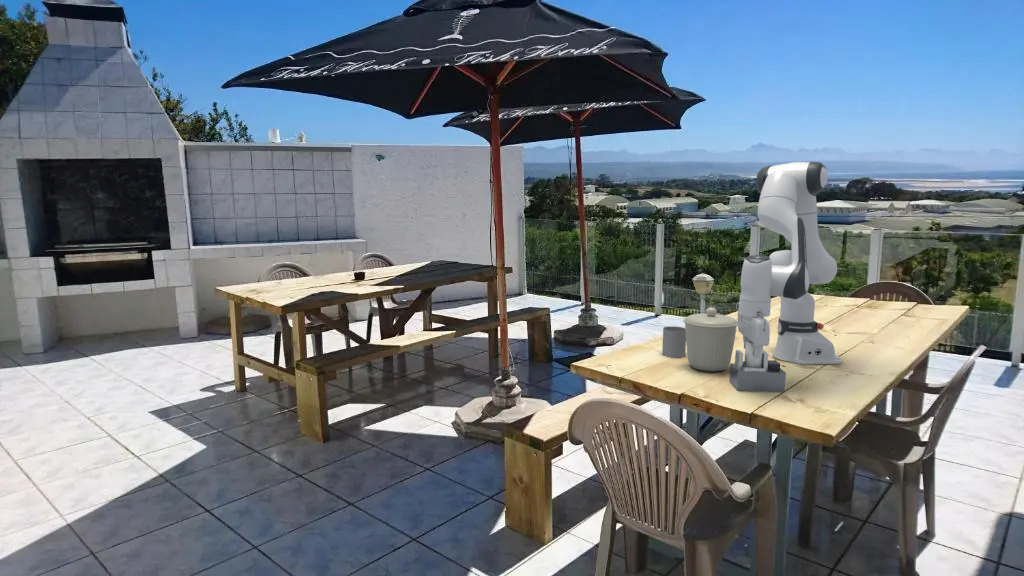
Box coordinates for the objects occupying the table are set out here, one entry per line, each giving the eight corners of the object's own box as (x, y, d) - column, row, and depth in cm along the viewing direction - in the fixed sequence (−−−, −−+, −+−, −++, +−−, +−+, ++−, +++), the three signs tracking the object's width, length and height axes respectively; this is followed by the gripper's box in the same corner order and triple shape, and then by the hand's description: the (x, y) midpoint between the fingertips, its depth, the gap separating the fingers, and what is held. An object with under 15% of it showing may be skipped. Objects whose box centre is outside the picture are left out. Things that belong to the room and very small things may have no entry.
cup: (686, 358, 219) (687, 331, 218) (662, 357, 221) (663, 330, 219) (684, 352, 227) (685, 326, 226) (661, 351, 229) (662, 325, 228)
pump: (758, 365, 189) (760, 337, 187) (763, 370, 184) (765, 341, 182) (742, 365, 189) (743, 337, 188) (746, 369, 184) (748, 341, 183)
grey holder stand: (774, 382, 191) (777, 349, 189) (784, 392, 182) (787, 356, 180) (729, 381, 192) (731, 348, 190) (737, 390, 183) (739, 355, 182)
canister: (746, 368, 207) (749, 307, 204) (718, 378, 195) (722, 314, 192) (699, 358, 220) (701, 301, 217) (670, 367, 208) (673, 307, 205)
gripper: (776, 315, 173) (773, 362, 175) (755, 303, 193) (752, 345, 195) (754, 315, 174) (751, 362, 176) (734, 303, 194) (732, 345, 196)
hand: (751, 353), depth 186 cm, fingers open, 8 cm apart
